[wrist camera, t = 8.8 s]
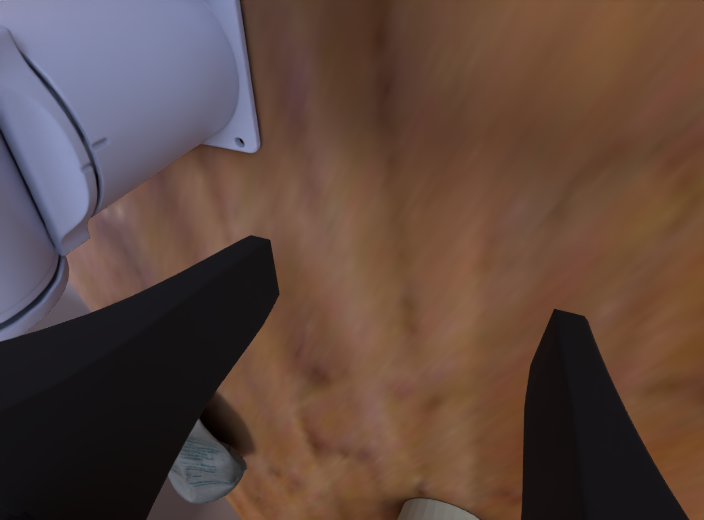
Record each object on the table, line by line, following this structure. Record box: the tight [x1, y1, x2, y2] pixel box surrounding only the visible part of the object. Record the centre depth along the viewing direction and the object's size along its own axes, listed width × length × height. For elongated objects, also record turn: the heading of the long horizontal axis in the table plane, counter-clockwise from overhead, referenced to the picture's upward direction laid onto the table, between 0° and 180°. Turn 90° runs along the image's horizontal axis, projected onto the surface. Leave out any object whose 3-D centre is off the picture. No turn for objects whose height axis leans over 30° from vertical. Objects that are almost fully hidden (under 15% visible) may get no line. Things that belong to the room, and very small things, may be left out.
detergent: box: [168, 419, 247, 503], centre depth 43 cm, size 13×7×25 cm
